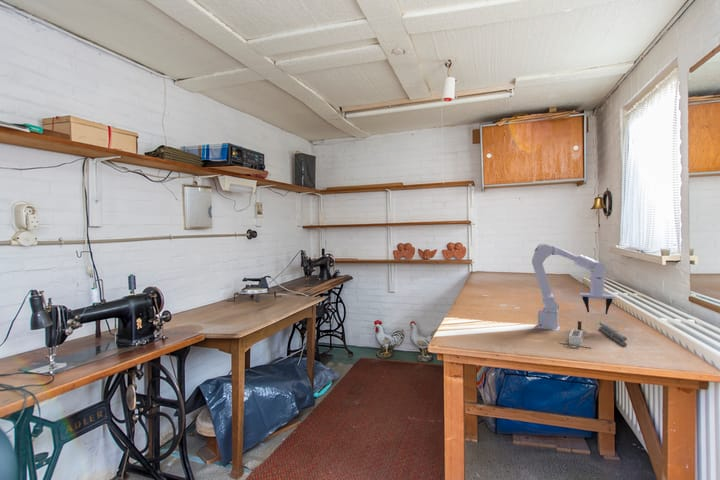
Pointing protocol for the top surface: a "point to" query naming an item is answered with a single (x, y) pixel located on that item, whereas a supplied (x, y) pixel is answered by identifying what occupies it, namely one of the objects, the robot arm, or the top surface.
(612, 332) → the metal rod assembly
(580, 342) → the steel link
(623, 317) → the top surface
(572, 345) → the rubber mat
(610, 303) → the robot arm
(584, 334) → the post stand
